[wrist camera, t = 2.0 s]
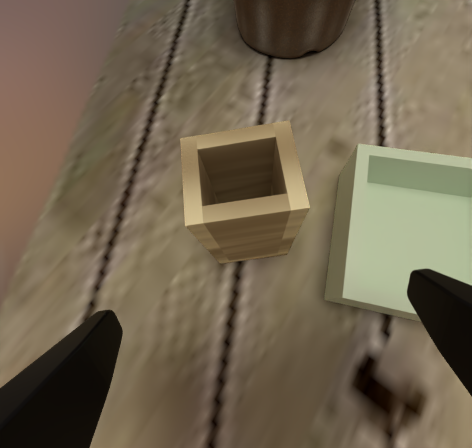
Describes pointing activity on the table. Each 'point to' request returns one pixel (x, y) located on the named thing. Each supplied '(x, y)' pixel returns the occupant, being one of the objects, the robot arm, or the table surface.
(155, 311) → the table surface
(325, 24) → the plant pot
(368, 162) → the sage crate
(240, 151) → the pine crate
